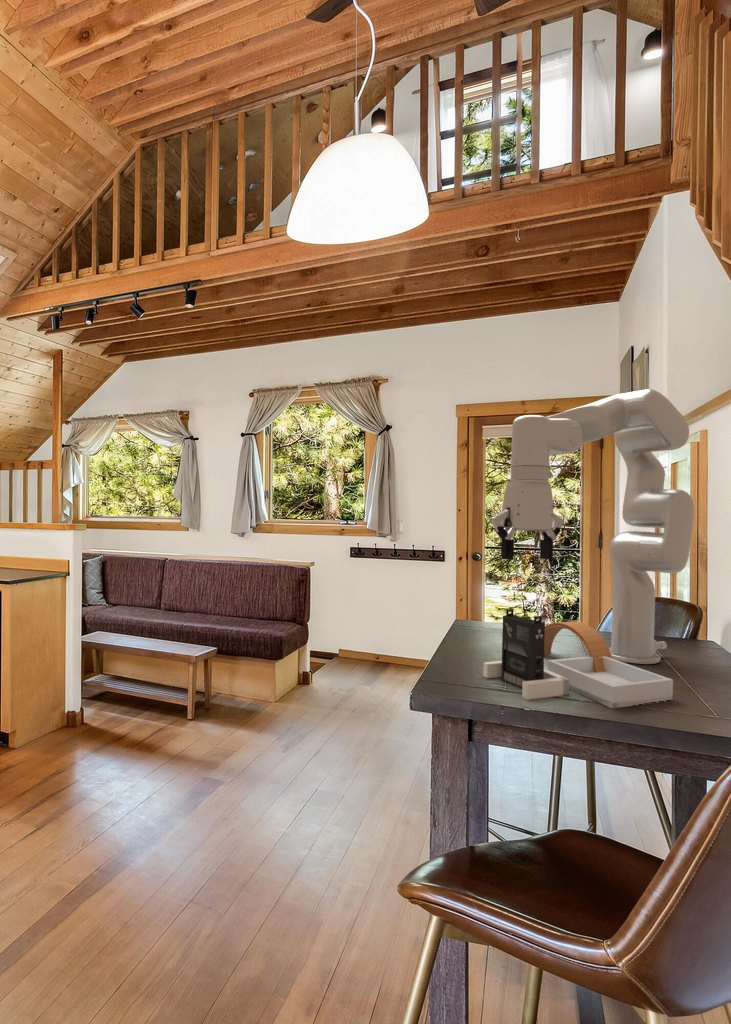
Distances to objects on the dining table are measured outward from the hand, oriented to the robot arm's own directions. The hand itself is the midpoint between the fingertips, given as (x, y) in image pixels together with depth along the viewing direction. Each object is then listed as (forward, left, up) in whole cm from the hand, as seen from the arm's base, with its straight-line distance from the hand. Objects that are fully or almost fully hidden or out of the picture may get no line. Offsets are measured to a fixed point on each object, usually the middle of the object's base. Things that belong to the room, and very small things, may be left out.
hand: (527, 559), depth 111 cm
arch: (-21, -10, -27) cm, 35 cm away
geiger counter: (0, 0, -26) cm, 26 cm away
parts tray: (-15, +7, -26) cm, 31 cm away
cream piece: (0, 0, -26) cm, 26 cm away
